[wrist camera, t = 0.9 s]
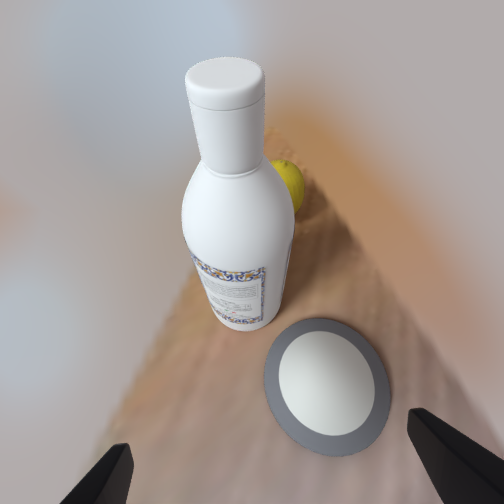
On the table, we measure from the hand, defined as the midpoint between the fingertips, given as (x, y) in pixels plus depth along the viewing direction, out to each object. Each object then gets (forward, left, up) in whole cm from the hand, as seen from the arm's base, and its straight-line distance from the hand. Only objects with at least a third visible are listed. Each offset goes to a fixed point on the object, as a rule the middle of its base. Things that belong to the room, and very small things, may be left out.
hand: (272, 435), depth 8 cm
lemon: (+22, -1, -14) cm, 26 cm away
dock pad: (+4, -5, -14) cm, 15 cm away
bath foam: (+11, +2, -14) cm, 18 cm away
